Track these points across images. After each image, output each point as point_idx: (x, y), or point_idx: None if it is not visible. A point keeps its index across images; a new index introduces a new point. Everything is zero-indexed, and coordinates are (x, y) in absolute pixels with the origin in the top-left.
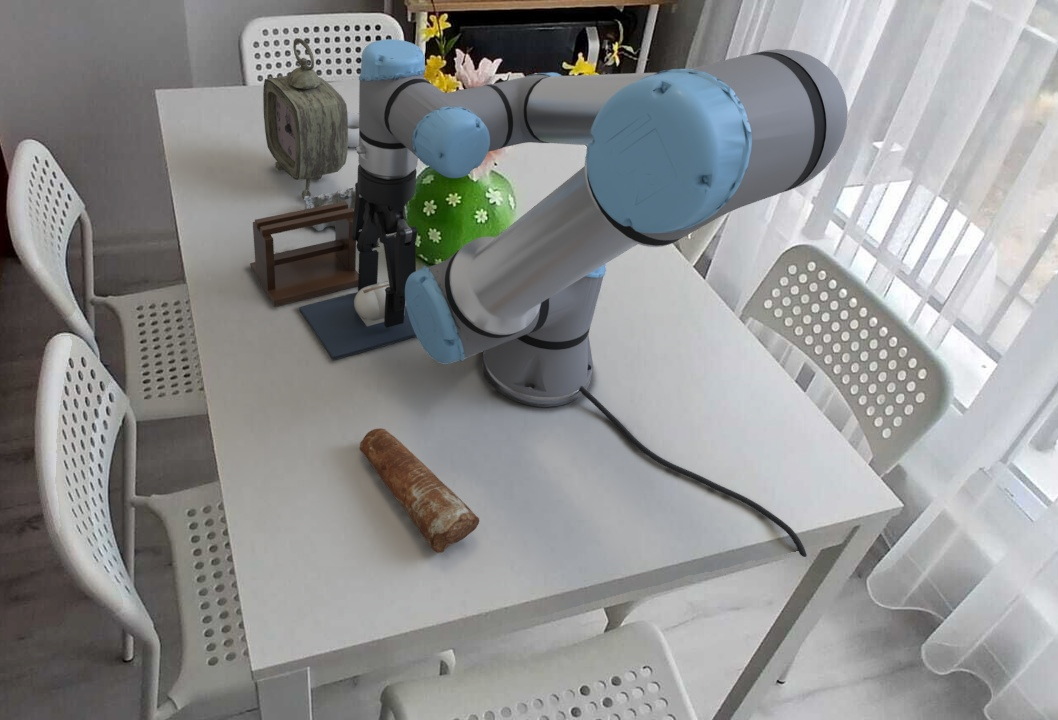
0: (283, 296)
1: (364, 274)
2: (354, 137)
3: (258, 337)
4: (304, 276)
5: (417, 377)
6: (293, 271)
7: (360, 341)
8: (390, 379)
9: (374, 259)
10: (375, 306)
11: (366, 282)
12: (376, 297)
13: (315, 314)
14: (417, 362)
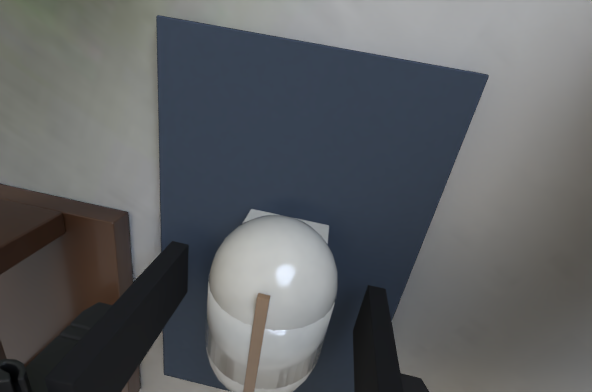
0: (123, 390)
1: (148, 338)
2: None
3: None
4: (63, 325)
5: (548, 338)
6: (37, 330)
7: (345, 363)
8: (495, 379)
9: (103, 364)
10: (309, 375)
11: (169, 301)
12: (289, 383)
13: (203, 370)
14: (505, 304)
